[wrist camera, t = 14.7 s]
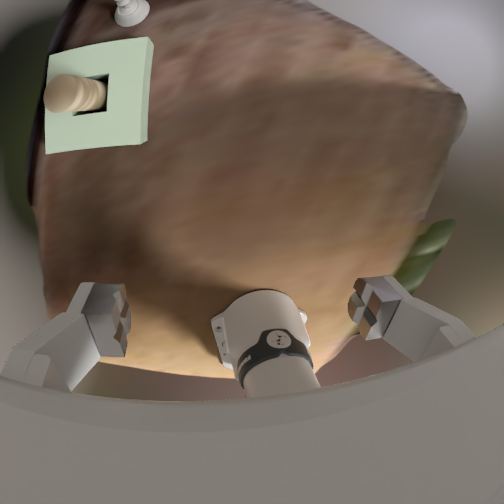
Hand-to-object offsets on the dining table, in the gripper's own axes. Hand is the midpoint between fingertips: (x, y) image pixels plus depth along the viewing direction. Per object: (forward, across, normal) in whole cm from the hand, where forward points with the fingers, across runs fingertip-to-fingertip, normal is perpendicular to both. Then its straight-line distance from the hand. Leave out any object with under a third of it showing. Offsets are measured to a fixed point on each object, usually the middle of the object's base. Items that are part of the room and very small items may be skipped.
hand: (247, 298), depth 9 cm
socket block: (+31, +16, -9) cm, 36 cm away
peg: (+31, +16, -9) cm, 36 cm away
